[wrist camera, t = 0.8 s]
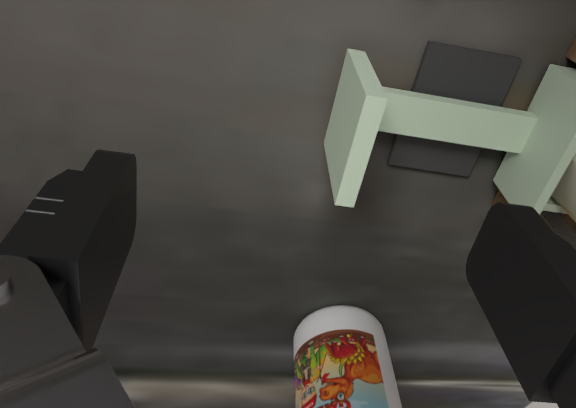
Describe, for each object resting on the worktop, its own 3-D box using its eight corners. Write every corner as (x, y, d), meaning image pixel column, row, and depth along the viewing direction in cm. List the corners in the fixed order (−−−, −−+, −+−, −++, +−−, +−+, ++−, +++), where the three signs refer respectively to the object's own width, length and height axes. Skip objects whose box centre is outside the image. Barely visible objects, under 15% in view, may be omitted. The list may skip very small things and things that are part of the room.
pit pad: (428, 40, 28) (430, 42, 28) (519, 57, 29) (521, 59, 28) (387, 161, 33) (388, 164, 32) (466, 173, 33) (468, 176, 33)
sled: (351, 27, 27) (372, 72, 21) (683, 88, 30) (786, 145, 24) (319, 153, 32) (330, 221, 26) (610, 198, 34) (682, 268, 28)
